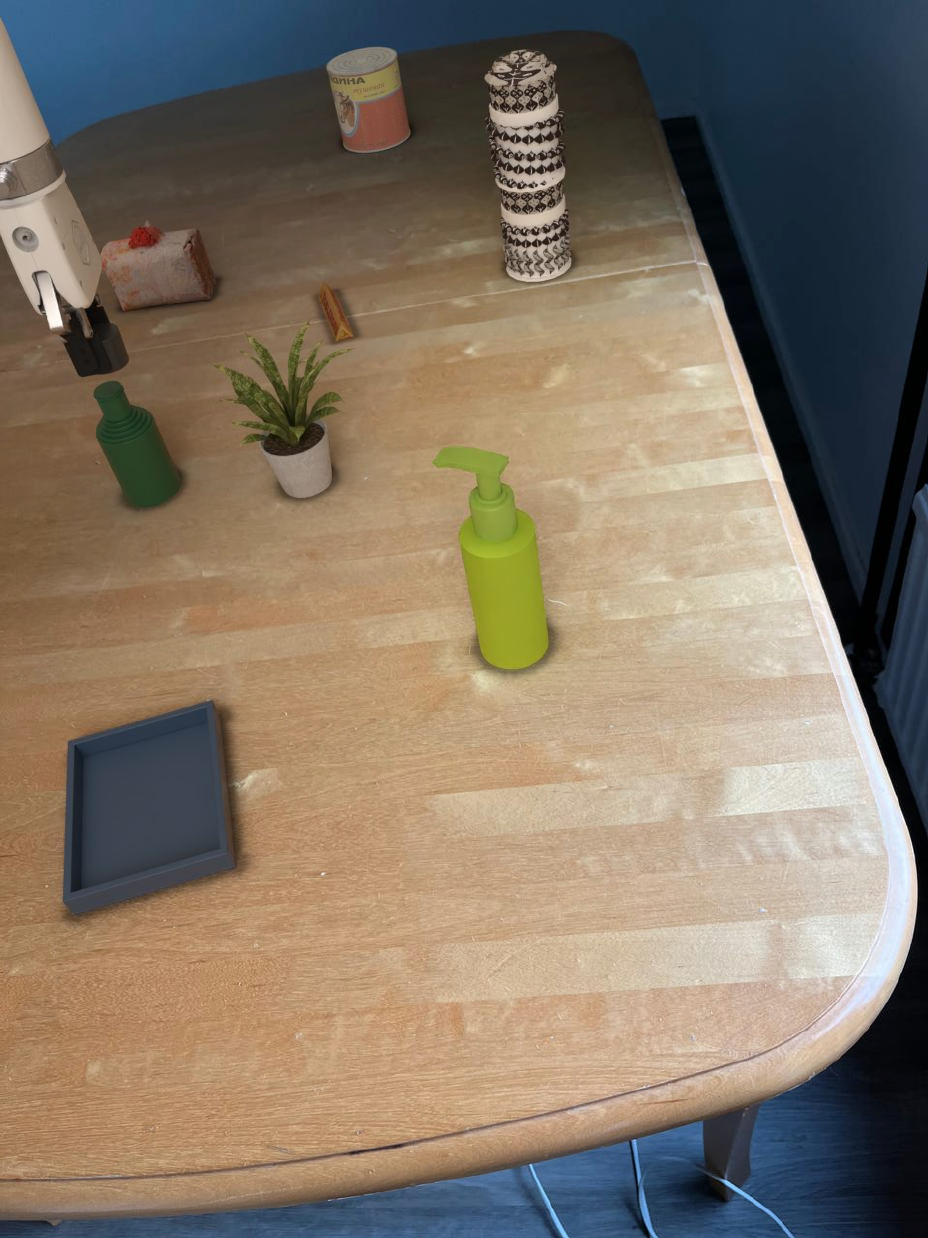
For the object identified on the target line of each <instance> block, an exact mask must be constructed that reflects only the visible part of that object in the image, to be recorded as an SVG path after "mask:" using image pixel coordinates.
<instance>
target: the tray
mask: <svg viewBox="0 0 928 1238" xmlns="http://www.w3.org/2000/svg"><path fill="white" fill-rule="evenodd" d="M222 727H223V726H222V717H221V713H220V711H219V710H218V708H217V706H216V704H215V701H214V699H211V700H207V701H204V702H203V701H202V702H200V703H197V704H193V705H190V706H186V707H183V708H178V709H175V710H172V711H169V712H166V713H162V714H158V715H155V716H152V717H148V718H147V717H146V718H143V719H141V720H136V721H134V722H130V723H126V724H123V725H119V726H116V727H112V728H109V729H106V730H102V731H98V732H95V733H92V734H88V735H84V736H81V737H78V738H74V739H71V740H67V753H66V755H67V756H66V783H65V784H66V787H65V788H66V789H65V817H64V818H65V819H64V850H63V878H62V879H63V880H62V881H63V882H62V903H63V904H64V906H65V907H66V908H67V909H69V911H70V912H71V914H73V916H77V915H81V914H84V913H87V912H90V911H93V910H96V909H97V910H98V909H100V908H104V907H108V906H110V905H114V904H117V903H120V902H121V903H122V902H125V901H127V900H130V899H134V898H137V897H141V896H144V895H148V894H151V893H154V892H157V891H161V890H165V889H167V888H171V887H175V886H177V885H180V884H184V883H188V882H191V881H194V880H197V879H201V878H205V877H207V876H212V875H215V874H217V873H220V872H225V871H228V870H232V869H235V868H237V859H236V849H235V848H236V847H235V840H234V829H233V821H232V810H231V802H230V793H229V783H228V774H227V764H226V755H225V754H226V753H225V745H224V737H223V736H224V735H223V728H222Z"/></svg>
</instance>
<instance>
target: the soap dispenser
mask: <svg viewBox="0 0 928 1238" xmlns="http://www.w3.org/2000/svg"><path fill="white" fill-rule="evenodd" d="M509 463H510V460H509V456H508V455H504V454H501V453H497V452H493V451H489V450H486V449H480V448H476V447H471V446H470V447H469V446H444V447H442V448H441V449H440V451H439V452H438V453H437V455H436V456H435V458H434V459H433V460H432V464H433V466H435V467H436V468H438V469H456V470H460V471H465V472H469V473H474V474H475V479H476V484H477V486H475V487H474V488H473V489H471V491H470V493H469V495H468V505H469V510H470V511H469V512H470V515H469V516H468V517H466V519H465V520H464V521H463V523H462V524H461V526H460V527H459V530H458V542H459V545H460V546H459V547H460V552H461V557H462V562H463V569H464V572H465V573H464V574H465V578H466V583H467V588H468V593H469V598H470V603H471V608H472V615H473V618H474V624H475V629H476V633H477V634H476V635H477V639H478V645H479V649H480V653H481V655H482V657H483V658H484V660H485V661H486V662H488V663H489V664H490V665H492V666H493V667H496V668H498V669H503V670H520V669H523V668H528V667H530V666H532V665H534V664H535V663H537V662H538V661H540V660H541V659H542V657H543V656H544V655H545V654H546V652H547V650H548V648H549V644H550V641H549V640H550V639H549V631H548V623H547V616H546V615H547V614H546V605H545V598H544V589H543V582H542V573H541V564H540V556H539V549H538V539H537V532H536V531H537V530H536V524H535V522H534V520H533V518H532V517H531V516H530V515H529V514H528V513H527V512H525V511H524V510H522V509H520V508H517V506H516V500H515V499H516V498H515V492H514V490H513V488H512V487H511V486H510V485H509V484H507V483H505V482H502V481H501V475H502V474H503V473H504V471H505V470H506V468H507V466H508V465H509Z"/></svg>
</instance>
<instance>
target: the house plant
mask: <svg viewBox="0 0 928 1238" xmlns="http://www.w3.org/2000/svg"><path fill="white" fill-rule="evenodd" d="M312 320H313V318H311V319H310V320H308V321H307V322H306V323H305V324H304V325H303V326H301V328H300V329H299V331H298V332H297V333H296V335H295V338H294V340H293V341H292V344H291V348H290V351H289V355H288V360H287V372H288V376H287V377H288V382H287V385H288V387H286V385H285V383H284V380H283V378H282V376H281V373H280V371H279V369H278V366H277V364H276V362H275V360H274V358H273V356H272V355H271V353H270V351H269V350H268V348H267V347H265V346H264V344H262V343H261V342H259V341H258V340H257V339H256V338H255V337H254V336H252V335H251V334H249V333H247V332H246V331H245V334H244V335H245V336H246V338H247V340H248V342H249V343H250V344H251V346H252V348H253V349H254V350H255V352H256V353H257V355H258V358H259V359H260V360H261V361H260V360H258V359H257V358H255V357H254V356H252V355H250V354H249V353H247V352H245V351H243V350H239V349H237V348H235V350H236V351H237V352H240V354H242V355H244V356H246V357H247V358H248V359H250V360H251V361H253V362H254V363H255V364H256V365H257V366H258V367H259V368H260V369H261V371H262V373H264V375H265V376H266V378H267V379H268V380H269V382H270V384H271V385H272V387H273V389H274V391H275V393H276V396H277V397H278V400H279V401H278V400H277V399H276V397H275V396H273V395H272V394H271V392H269V391H268V390H266V389H262V386H260V384H258V382H257V381H255V380H254V378H253V377H251V376H249V375H247V376H246V375H245V374H243V373H242V372H239V371H237V370H234V369H231V368H229V367H227V366H225V365H222V364H214V363H210V365H211V366H212V367H214V368H216V369H217V370H219V371H221V372H222V373H223V374H225V375H227V376H228V377H229V379H230V380H231V385H232V388H233V391H234V393H235V394H236V396H237V398H236V399H233V398H221V399H218V400H217V401H213V403H214V404H215V403H223V402H224V403H225V402H231V403H232V402H233V403H234V404H238V405H243V406H246V407H247V408H248V409H249V410H250V411H251V412H252V413H253V414H254V415H255V416H256V417H258V418H259V419H260V420H261V421H251V420H237V421H232V422H229V423H227V424H229V425H233V426H242V427H245V428H248V429H251V430H258V431H262V432H261V433H249V434H247V435H246V436H245V437H244V438H243V440H242V442H241V443H240V444H239V447H241V446H242V445H247V444H252V443H256V442H258V447H259V451H261V453H262V455H263V456H264V458H265V460H266V462H267V463H268V465H269V467H270V468H271V471H272V472H273V474H274V476H275V477H276V479H277V481H278V483H279V484H280V486H281V488H282V489H283V491H284V492H285V493H286V495H288V496H290V497H292V498H296V499H297V498H298V499H305V498H311V497H313V496H317V495H318V494H320V493H322V492H323V491H325V490H326V489H328V487H329V486H330V485H331V483H332V481H333V470H332V459H331V449H330V439H329V430H328V426H327V424H326V422H325V421H324V420H323V419H324V418H326V417H328V416H330V415H333V414H335V413H342V414H344V412H343V411H342V410H340V409H338V408H336V407H335V406H327V405H329V404H334V403H337V402H342V403H344V404H346V402H345V401H344V400H343V398H342V397H341V396H340V395H339V394H338V393H337V392H334V391H332V392H331V391H329V392H325V393H324V394H323V395H321V396H320V397H319V398H318V399H317V400H316V401H315V403H314V404H313V405H312V407H311V409H310V413H309V414H307V412H308V411H307V410H308V409H307V408H308V398H309V394H310V393H311V391H312V390H313V388H314V386H315V385H316V384H317V383H318V382H319V381H320V379H317V377H318V376H319V374H320V373H321V371H322V370H323V369H324V368H325V367H326V366H327V365H328V364H329V363H330V362H331V361H332V360H333V359H335V358H336V357H338V356H341V355H344V354H346V353H349V352H351V351H354V350H356V348H346V349H341V350H336V351H334V352H332V353H330V354H328V355H327V356H325V357H324V358H323V359H322V360H321V361H320V360H318V361H317V362H316V363H315V364H314V362H315V360H316V357H317V353H318V350H319V348H320V346H321V345H323V342H324V339H323V340H320V341H319V342H318V343H317V344H316V345H315V346H313V348H312V349H311V351H310V353H309V355H308V358H302V359H300V355H301V351H302V348H303V344H304V341H305V335H306V331H307V330H308V328H309V326H310V325H311V322H312ZM299 359H300V360H299ZM304 362H305V363H306V364H305V369H304V376H302V377H301V376H297V375H298V367H299V365H300V364H301V363H304Z"/></svg>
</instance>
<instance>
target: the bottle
mask: <svg viewBox="0 0 928 1238" xmlns="http://www.w3.org/2000/svg"><path fill="white" fill-rule="evenodd" d="M92 394H93V398H94V399H95V400H96V402H97V404H98V406H99V409H100V411H101V413H102V416H101V418H100V420H99V421H98V423H97V425H96V426H95V427H96V428H95V438H96V440H97V442H98V444H99V446H100V448H101V450H102V453H103V454H104V456H105V458H106V460H107V463H108V464H109V466H110V468H111V470H112V472H113V475H114V476H115V478H116V480H117V482H118V485H119V486H120V489H121V490H122V493H123V494H124V497H125V499H126V501H127V502H128V503H129V504H130V505H131V506H134V507H137V508H150V507H154V506H158V505H160V504H163V503H165V502H167V501H169V500H170V499H171V498H173V497H174V496H175V495H176V494H177V493H178V492H179V490H180V489H181V485H182V480H181V476H180V475H179V472H178V470H177V468H176V465H175V463H174V460H173V459H172V456H171V454H170V451H169V449H168V447H167V445H166V443H165V441H164V438H163V435H162V434H161V431H160V429H159V426H158V424H157V421H156V420H155V417H154V415H153V414H152V413H151V412H150V411H149V410H148V409H147V408H144V407H140V406H137V405H135V404H131V403H130V401H129V398H128V396H127V395H126V391H125V388H124V386H123V384H122V383H121V382H120V381H117V380H108V381H104V382H102V383H100V384H99V385H97V386H96V387H95V388H94V390H93V393H92Z"/></svg>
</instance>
